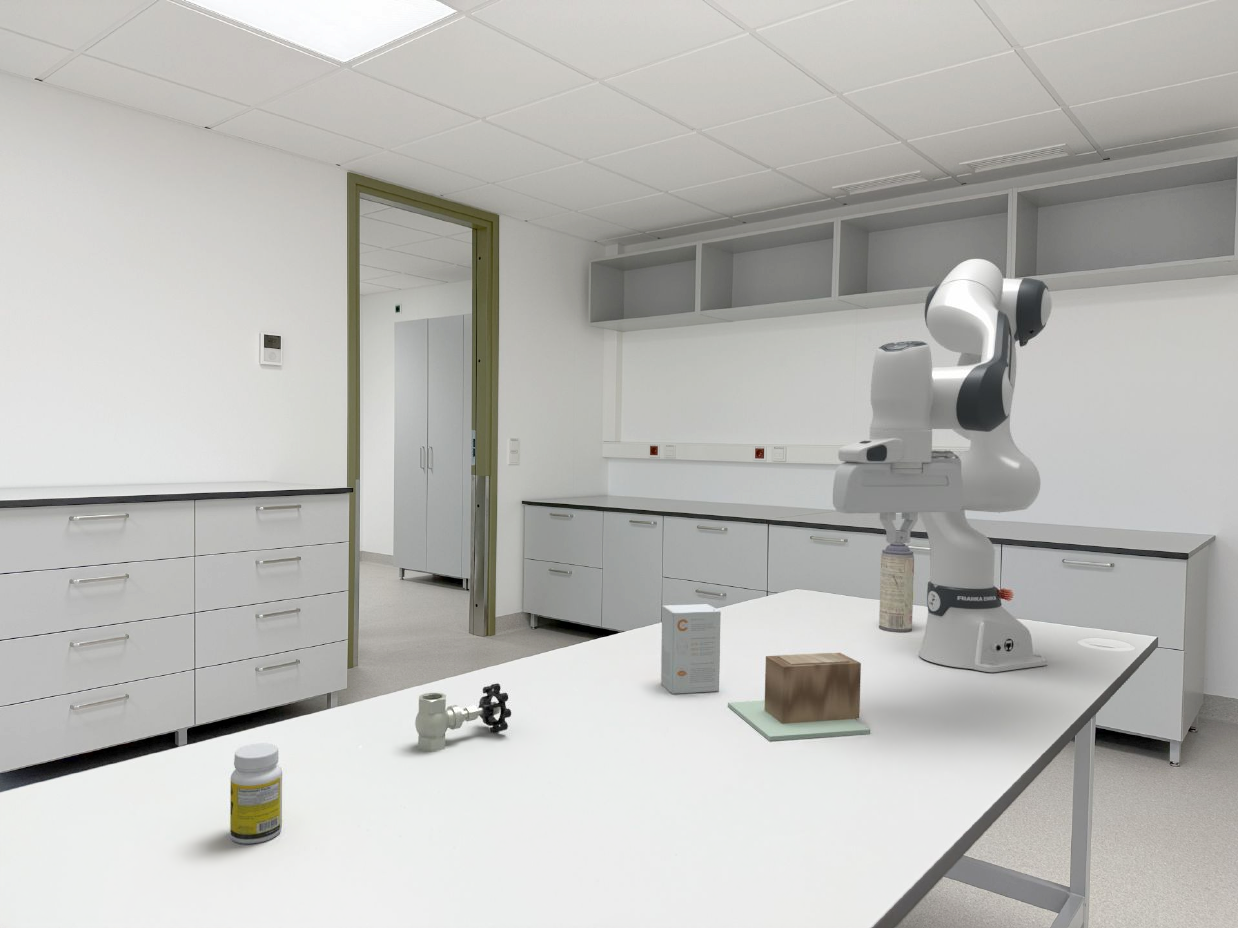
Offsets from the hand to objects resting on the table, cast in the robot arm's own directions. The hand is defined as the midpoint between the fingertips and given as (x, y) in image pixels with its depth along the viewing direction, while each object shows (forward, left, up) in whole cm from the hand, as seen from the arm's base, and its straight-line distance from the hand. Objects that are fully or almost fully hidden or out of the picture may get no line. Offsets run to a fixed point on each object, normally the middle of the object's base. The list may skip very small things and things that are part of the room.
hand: (898, 542), depth 127 cm
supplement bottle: (+85, +23, -26) cm, 92 cm away
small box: (+26, -17, -26) cm, 40 cm away
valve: (+64, 0, -26) cm, 69 cm away
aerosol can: (-33, -51, -26) cm, 66 cm away
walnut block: (+8, +1, -21) cm, 22 cm away
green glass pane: (+16, +1, -25) cm, 30 cm away
